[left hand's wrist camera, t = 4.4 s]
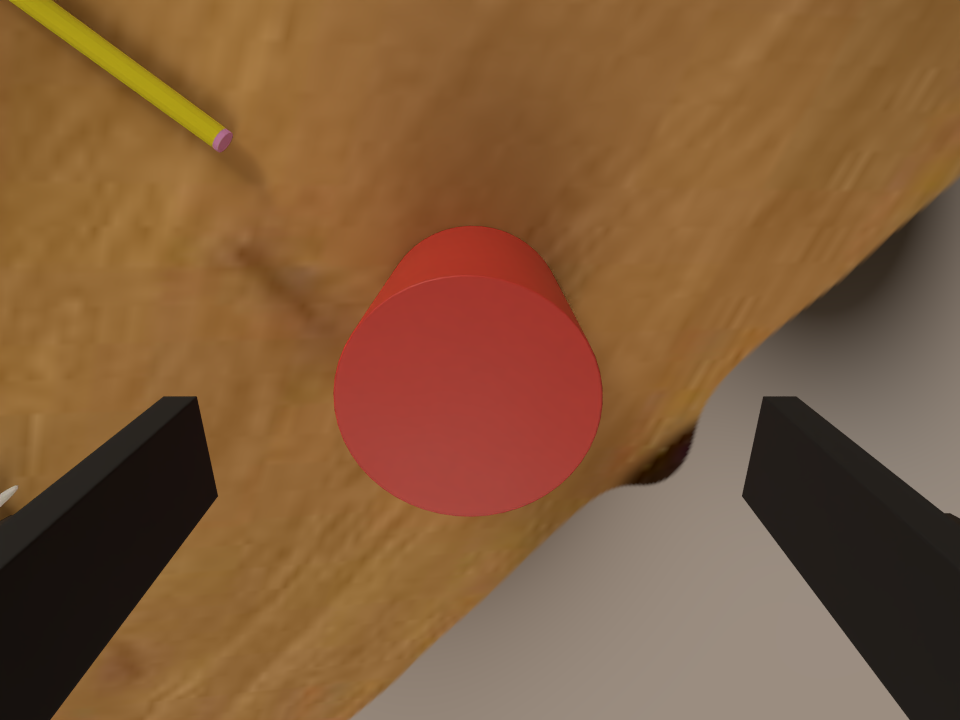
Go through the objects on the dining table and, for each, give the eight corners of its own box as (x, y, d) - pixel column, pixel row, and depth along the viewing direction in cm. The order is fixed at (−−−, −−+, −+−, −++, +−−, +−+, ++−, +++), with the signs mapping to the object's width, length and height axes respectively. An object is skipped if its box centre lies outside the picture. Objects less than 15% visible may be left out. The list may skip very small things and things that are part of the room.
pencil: (236, 132, 23) (225, 131, 22) (225, 152, 23) (214, 152, 22) (-179, -174, 19) (-213, -190, 18) (-186, -146, 20) (-219, -160, 19)
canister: (591, 265, 25) (651, 335, 16) (520, 417, 28) (538, 546, 19) (417, 196, 24) (378, 230, 15) (362, 362, 27) (303, 472, 18)
